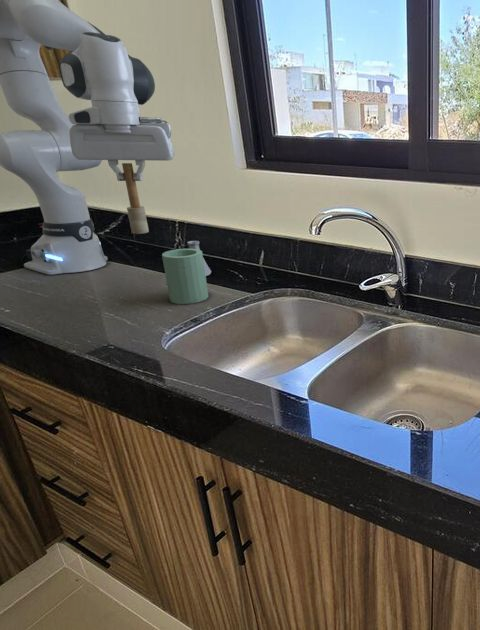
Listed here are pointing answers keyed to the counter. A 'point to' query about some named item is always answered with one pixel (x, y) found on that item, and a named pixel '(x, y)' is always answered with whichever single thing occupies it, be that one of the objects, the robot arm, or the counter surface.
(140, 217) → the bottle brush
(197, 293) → the jar
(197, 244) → the flask
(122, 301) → the counter surface
